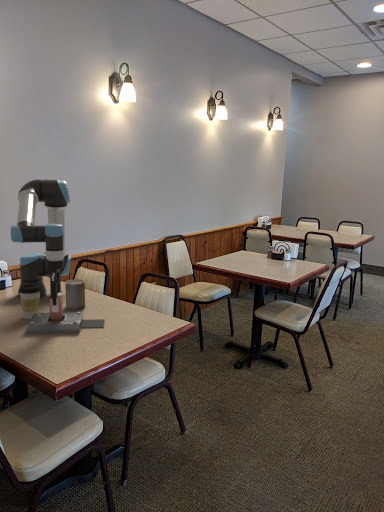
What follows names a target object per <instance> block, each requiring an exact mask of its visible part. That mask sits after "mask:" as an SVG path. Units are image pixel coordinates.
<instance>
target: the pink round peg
mask: <svg viewBox="0 0 384 512" xmlns="http://www.w3.org/2000/svg"><path fill="white" fill-rule="evenodd" d="M57 296H58V312H52V301H51V298H49V313H50V321H63V313H64V311H63V308H64V307H63V293H58V295H57Z"/></svg>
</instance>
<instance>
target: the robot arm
mask: <svg viewBox="0 0 384 512" xmlns="http://www.w3.org/2000/svg"><path fill="white" fill-rule="evenodd" d="M17 200H18V203H19V204H18V212H17V213H18V215H17V221H16V225H12V226H11V227H10V240H11V242H12V243H21V244H22V243H45V251H44V254H45V255H43V253H42V252H31V253H26V254H24V255H22V256H20V259H19V271H20V283H19V286H18V290H17V296H18V297H19V298H20V297H21V296H20V292H19V289H20V287H21V286H23V285H28V284H35V285H39V287H40V288H41V291H40V298H42V297H45V296H46V295H47V294H48V292H47V291H48V290H47V288H46V287H47V286H46V285H45V282H44V277H49V287H50V289H49V290H50V292H49V297H48V298H49V299H50V298H51V301H52V312H58V296H57V295H58V293H62V292H63V290H62V285H61V284H62V283H61V282H62V281H61V276H65V277H66V276H68V275H69V274H70V269H71V262H72V260H71V259H72V257H71V254H69V252H68V250H67V249H66V226H65V220H66V219H65V209H66V208H67V207H68V204H69V203H71V200H70V193H69V187H68V182H67V181H66V180H60V179H37V178H36V179H33V180H30V181H28V182H26V183H25V184H24V185H22V187H21V188H20V189H19V191H18V194H17ZM37 203H44V207H45V208H46V209H47V224H46V225H35V223H36V207H37ZM62 294H63V293H62Z"/></svg>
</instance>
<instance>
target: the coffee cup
mask: <svg viewBox="0 0 384 512" xmlns="http://www.w3.org/2000/svg"><path fill="white" fill-rule="evenodd" d="M18 290H19V292H20V296H21V297H19V298H20V304H21V309H22V310H21V311H22V313H23V318H24V319H25V320H30V319H31V318H32V316H33V315H34V313H37V312H39V310H40V300H41V299H40V298H41V297H40V291H41V288H40V287H39V285H35V284H28V285H23V286H21V287H20V289H19V288H18Z"/></svg>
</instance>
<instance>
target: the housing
mask: <svg viewBox="0 0 384 512" xmlns="http://www.w3.org/2000/svg"><path fill="white" fill-rule="evenodd" d="M83 320H84V312H83V311H82V312H81V311H76V312H63V321H50V312H39V311H38V312H37V313H34V315H33V316H32V318H31V319H29V321H28V322H27V323H26V333H27V335H30V334H73V333H74V334H75V333H76V334H77V333H81V330H82V328H81V326H82V322H83Z"/></svg>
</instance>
